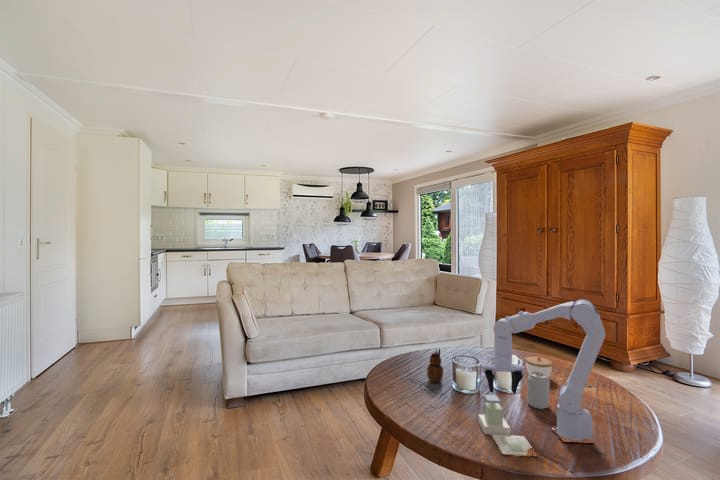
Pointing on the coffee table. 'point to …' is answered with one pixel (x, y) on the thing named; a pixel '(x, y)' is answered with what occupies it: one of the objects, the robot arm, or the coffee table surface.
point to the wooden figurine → (435, 368)
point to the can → (538, 390)
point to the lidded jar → (539, 365)
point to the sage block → (494, 413)
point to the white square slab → (493, 427)
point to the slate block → (491, 399)
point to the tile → (512, 444)
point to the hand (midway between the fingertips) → (502, 391)
